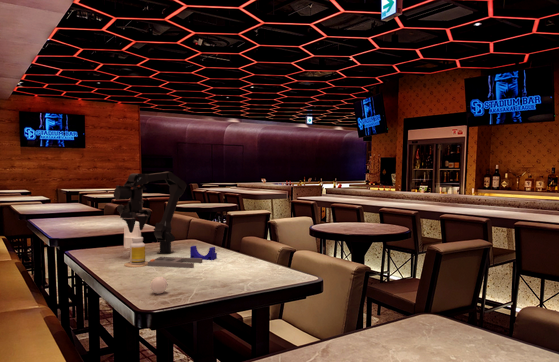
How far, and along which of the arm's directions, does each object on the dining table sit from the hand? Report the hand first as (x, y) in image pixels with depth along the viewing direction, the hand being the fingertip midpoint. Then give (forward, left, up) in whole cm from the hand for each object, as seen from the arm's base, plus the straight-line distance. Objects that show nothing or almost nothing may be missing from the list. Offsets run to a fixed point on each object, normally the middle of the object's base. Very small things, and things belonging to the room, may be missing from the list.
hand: (136, 231), depth 194 cm
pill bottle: (+13, +8, -13) cm, 20 cm away
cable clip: (-5, +32, -13) cm, 35 cm away
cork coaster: (+13, +8, -13) cm, 20 cm away
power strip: (+9, +24, -13) cm, 29 cm away
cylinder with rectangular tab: (-28, -18, -13) cm, 35 cm away
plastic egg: (+52, +38, -13) cm, 66 cm away
